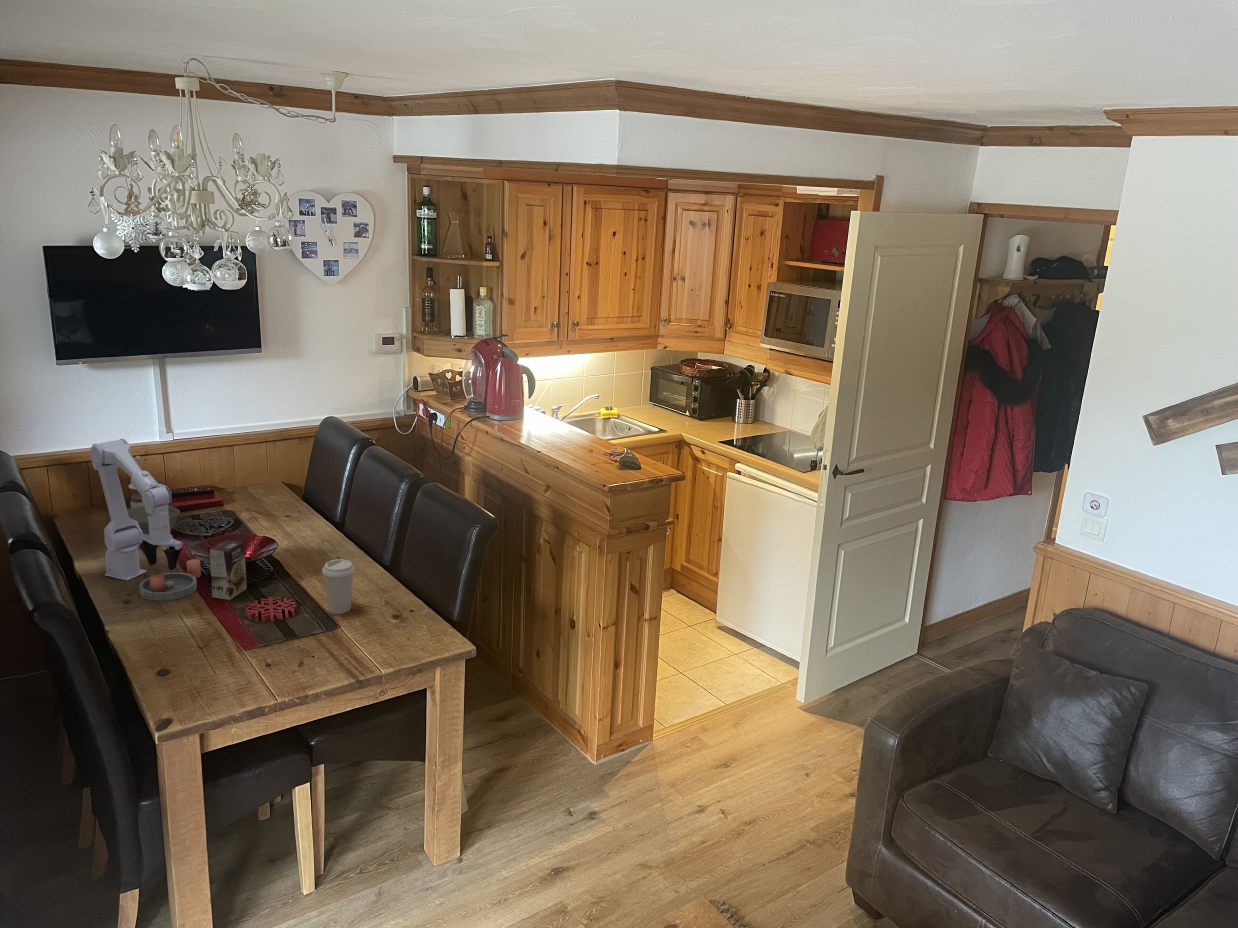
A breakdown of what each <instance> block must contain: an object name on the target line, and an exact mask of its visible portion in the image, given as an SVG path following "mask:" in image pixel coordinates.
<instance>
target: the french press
mask: <svg viewBox="0 0 1238 928" xmlns="http://www.w3.org/2000/svg"><path fill="white" fill-rule="evenodd" d="M134 460H135V461H137V464H138V466H140V460H142V457H141V456H140V455H136V456H135V458H134ZM127 486H128V489H131V490H135V491H137V489H136V488H135V487H134V486H133V485H132V484H131V483H129V484H128V485H127ZM130 498H131V499H130V501H129V502H130V508H134V507H139V506H144V504H143V501H142V495H141V494H140V493H139V492H138V493H137V492H136V493H134V494H131V496H130Z"/></svg>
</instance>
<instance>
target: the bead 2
mask: <svg viewBox="0 0 1238 928" xmlns="http://www.w3.org/2000/svg"><path fill="white" fill-rule="evenodd" d="M186 573H187V574H191V575H193V576H195V577H196V579H197V578H198V579H199V578H200V577H201V576H202V571H201V560H200V559H198V558H192V559H187V561H186Z"/></svg>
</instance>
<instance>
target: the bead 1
mask: <svg viewBox="0 0 1238 928" xmlns="http://www.w3.org/2000/svg"><path fill="white" fill-rule="evenodd" d="M150 587H151V591H152V592H165V580H164V575H159V574H153V575H151V576H150Z"/></svg>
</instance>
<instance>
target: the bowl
mask: <svg viewBox="0 0 1238 928" xmlns="http://www.w3.org/2000/svg"><path fill="white" fill-rule="evenodd" d="M168 511H169V523H170V531H171V530H173V527H174V526H175V523H176V522H177V520H178V518H179V516H180V512H181V511H180V510H179V509H178V508H177V507H174V506H172V505H169V504H168ZM127 512H128V516H129V518H131V519H133V520H135V521H137V522H138V524H139V527H140V529H141V530H142V532H143V534H147V535H149V524H148V513H146V511H145V506H139V507H134V508H131V507H130V508H128V509H127ZM125 528H128V527H125Z"/></svg>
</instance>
